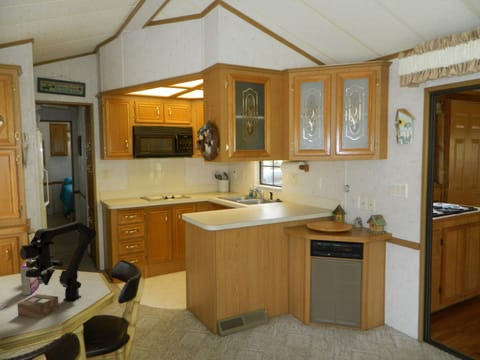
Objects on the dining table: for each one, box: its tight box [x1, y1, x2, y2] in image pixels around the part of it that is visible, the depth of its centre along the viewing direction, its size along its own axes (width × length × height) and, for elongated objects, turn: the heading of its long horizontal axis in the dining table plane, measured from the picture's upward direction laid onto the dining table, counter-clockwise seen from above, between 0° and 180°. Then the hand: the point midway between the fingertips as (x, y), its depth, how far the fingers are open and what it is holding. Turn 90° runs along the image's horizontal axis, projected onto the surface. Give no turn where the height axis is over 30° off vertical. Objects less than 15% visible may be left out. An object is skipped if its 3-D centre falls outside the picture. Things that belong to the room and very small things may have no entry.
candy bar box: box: [19, 259, 40, 296], centre depth 210 cm, size 11×5×16 cm, turn 9°
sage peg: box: [38, 299, 49, 303], centre depth 184 cm, size 4×4×6 cm
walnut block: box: [17, 293, 60, 320], centre depth 185 cm, size 12×13×6 cm
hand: (46, 285), depth 188 cm, fingers closed
